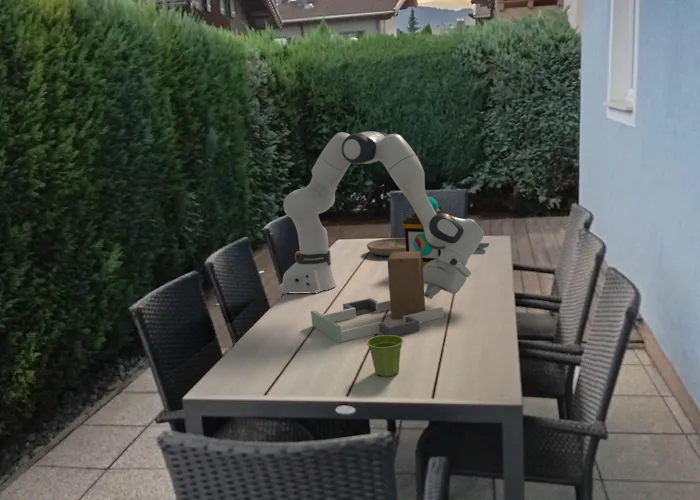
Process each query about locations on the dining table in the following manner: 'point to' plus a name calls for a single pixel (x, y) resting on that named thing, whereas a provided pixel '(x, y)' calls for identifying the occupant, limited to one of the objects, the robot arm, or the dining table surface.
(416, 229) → the decorative lantern
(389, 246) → the ceramic bowl
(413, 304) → the wooden block
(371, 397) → the dining table surface
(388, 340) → the plant pot
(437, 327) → the dining table surface
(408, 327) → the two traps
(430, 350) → the dining table surface
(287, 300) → the dining table surface
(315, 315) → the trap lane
